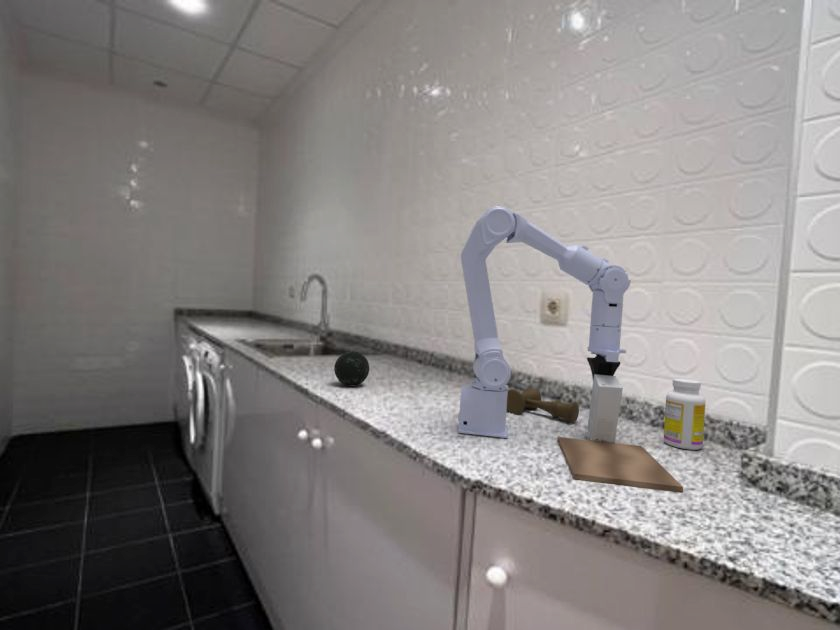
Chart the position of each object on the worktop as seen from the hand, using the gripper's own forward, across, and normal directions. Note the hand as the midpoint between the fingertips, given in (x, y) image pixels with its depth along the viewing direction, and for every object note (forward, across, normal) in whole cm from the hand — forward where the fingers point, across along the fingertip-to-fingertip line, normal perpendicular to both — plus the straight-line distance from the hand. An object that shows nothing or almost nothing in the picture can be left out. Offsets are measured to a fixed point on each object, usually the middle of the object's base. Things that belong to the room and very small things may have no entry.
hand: (600, 393), depth 88 cm
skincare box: (+8, -2, 0) cm, 9 cm away
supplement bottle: (+9, +1, -16) cm, 18 cm away
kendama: (+9, +16, +11) cm, 21 cm away
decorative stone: (+9, +28, +62) cm, 69 cm away
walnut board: (+9, -15, +1) cm, 17 cm away
